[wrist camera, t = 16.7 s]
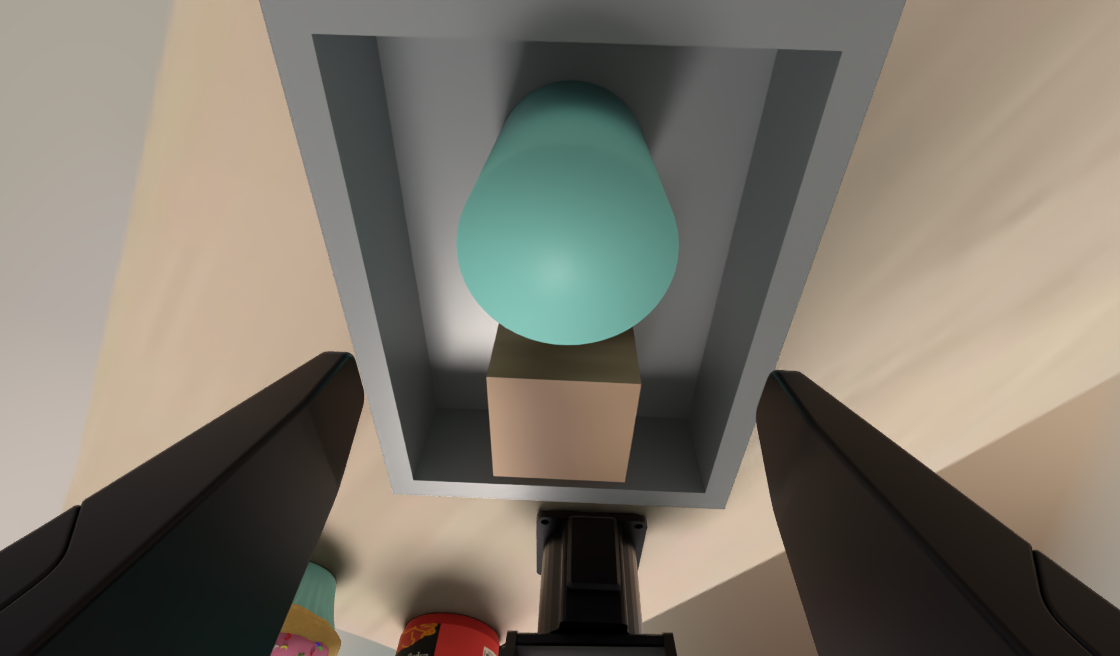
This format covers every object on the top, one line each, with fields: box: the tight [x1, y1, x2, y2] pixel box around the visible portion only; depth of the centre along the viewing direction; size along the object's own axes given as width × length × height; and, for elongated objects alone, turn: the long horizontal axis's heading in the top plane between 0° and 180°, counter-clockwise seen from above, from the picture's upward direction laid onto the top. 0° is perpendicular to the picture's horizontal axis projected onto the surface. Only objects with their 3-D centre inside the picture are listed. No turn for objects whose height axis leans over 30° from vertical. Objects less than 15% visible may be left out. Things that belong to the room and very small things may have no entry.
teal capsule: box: [456, 80, 679, 345], centre depth 14 cm, size 5×5×7 cm
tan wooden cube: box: [486, 323, 641, 482], centre depth 20 cm, size 5×5×5 cm
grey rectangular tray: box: [259, 0, 906, 509], centre depth 18 cm, size 18×14×5 cm
